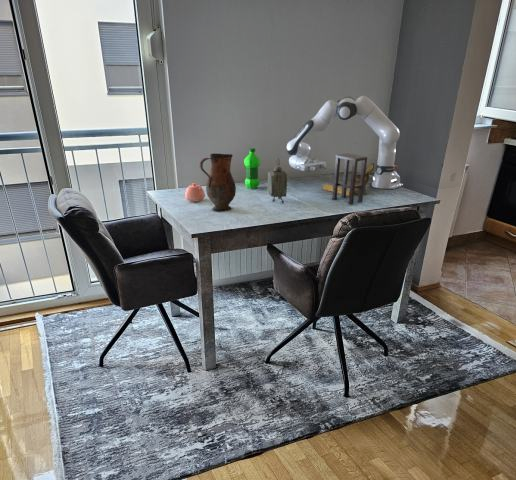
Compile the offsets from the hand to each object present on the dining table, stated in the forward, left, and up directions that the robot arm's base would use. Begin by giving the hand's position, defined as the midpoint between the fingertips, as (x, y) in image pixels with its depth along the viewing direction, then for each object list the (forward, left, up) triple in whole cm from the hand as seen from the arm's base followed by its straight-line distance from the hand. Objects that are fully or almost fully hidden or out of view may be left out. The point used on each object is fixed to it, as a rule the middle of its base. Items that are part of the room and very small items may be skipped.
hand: (320, 168), depth 314 cm
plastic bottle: (+38, -26, -13) cm, 48 cm away
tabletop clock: (+47, +12, -13) cm, 50 cm away
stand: (+10, +36, -12) cm, 39 cm away
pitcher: (+86, +7, -13) cm, 87 cm away
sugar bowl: (+86, -19, -13) cm, 89 cm away
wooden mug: (-12, +28, -13) cm, 33 cm away
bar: (0, +17, -12) cm, 21 cm away
